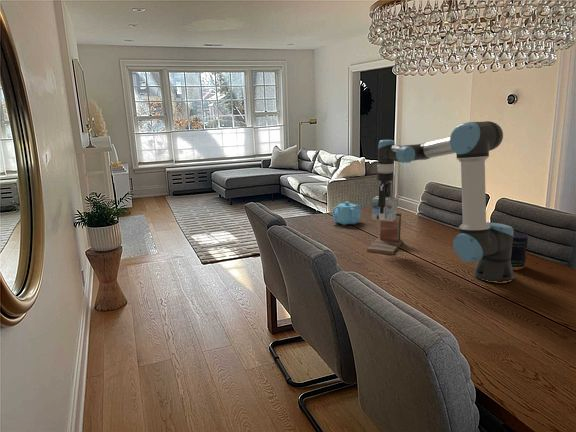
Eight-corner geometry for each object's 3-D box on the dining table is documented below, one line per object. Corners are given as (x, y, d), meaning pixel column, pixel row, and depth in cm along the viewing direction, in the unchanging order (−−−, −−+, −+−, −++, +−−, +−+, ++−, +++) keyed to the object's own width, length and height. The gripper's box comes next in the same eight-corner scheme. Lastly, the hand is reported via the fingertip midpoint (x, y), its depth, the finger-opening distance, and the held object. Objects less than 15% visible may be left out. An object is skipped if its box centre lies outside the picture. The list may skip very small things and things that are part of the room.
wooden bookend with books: (392, 254, 218) (393, 224, 214) (366, 251, 224) (367, 221, 220) (402, 242, 237) (404, 213, 233) (378, 239, 243) (379, 211, 239)
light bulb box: (371, 219, 222) (372, 198, 219) (375, 216, 227) (376, 195, 225) (392, 221, 217) (393, 199, 214) (396, 218, 222) (397, 197, 220)
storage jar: (522, 263, 202) (525, 232, 199) (527, 271, 193) (531, 238, 189) (498, 262, 205) (501, 230, 201) (502, 269, 196) (505, 237, 192)
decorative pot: (328, 224, 275) (328, 202, 272) (341, 218, 288) (341, 198, 285) (352, 228, 266) (353, 205, 263) (364, 221, 279) (364, 200, 276)
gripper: (383, 169, 226) (381, 212, 232) (372, 174, 209) (370, 221, 215) (397, 169, 223) (396, 214, 229) (387, 175, 206) (386, 223, 212)
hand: (383, 217), depth 222 cm, fingers closed on light bulb box, 7 cm apart
